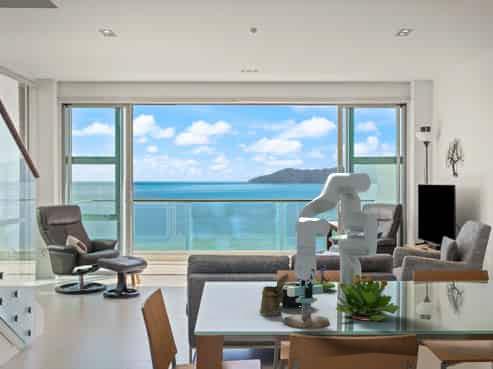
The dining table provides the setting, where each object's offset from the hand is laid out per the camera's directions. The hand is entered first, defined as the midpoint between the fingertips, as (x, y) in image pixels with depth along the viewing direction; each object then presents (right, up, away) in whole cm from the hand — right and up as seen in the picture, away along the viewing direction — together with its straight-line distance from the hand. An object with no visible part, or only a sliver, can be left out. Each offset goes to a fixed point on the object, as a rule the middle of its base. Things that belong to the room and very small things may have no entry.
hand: (306, 296), depth 239 cm
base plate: (0, -11, 0) cm, 11 cm away
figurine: (+15, -10, +68) cm, 71 cm away
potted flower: (+24, -11, +9) cm, 27 cm away
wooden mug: (-12, -11, +14) cm, 21 cm away
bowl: (-3, -10, +31) cm, 33 cm away
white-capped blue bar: (0, -2, 0) cm, 2 cm away
